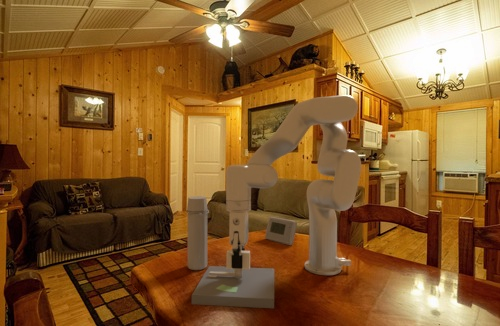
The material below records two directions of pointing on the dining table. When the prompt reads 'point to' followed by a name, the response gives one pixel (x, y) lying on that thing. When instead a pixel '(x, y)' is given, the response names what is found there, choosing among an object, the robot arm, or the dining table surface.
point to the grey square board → (236, 288)
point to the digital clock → (281, 230)
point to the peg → (237, 272)
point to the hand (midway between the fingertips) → (238, 263)
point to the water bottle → (197, 232)
